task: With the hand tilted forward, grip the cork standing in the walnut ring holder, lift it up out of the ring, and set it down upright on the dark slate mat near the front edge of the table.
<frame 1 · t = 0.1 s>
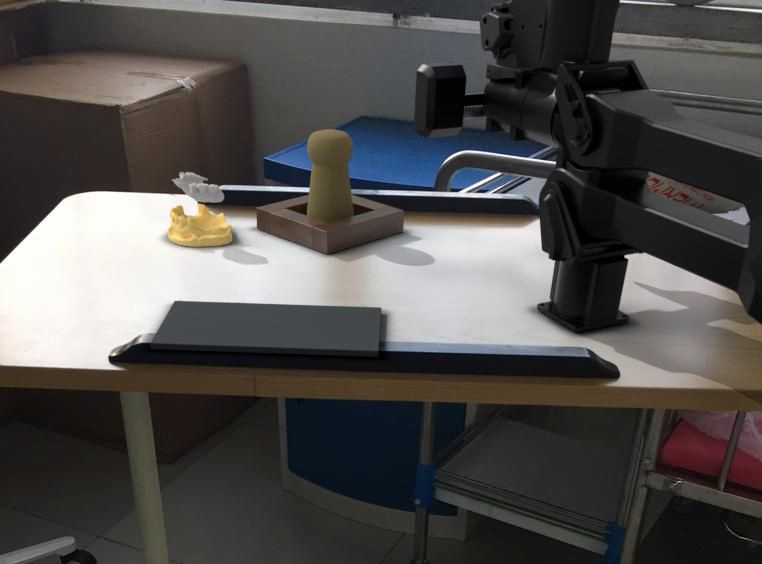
hand: (457, 82, 94), 17 cm above the table, tool horizontal, fingers open, 9 cm apart
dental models: (199, 238, 103), on the table
cork: (330, 232, 106), resting in ring holder
slate mat: (271, 330, 82), on the table
ring holder: (330, 230, 106), on the table
thermos bottle: (610, 129, 102), point 11 cm above the table
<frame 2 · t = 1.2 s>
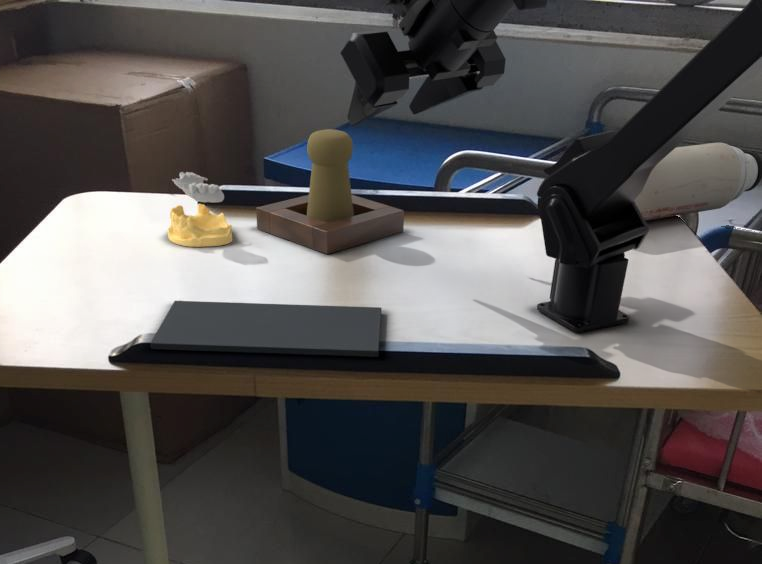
hand: (382, 115, 93), 14 cm above the table, tool tilted 45°, fingers open, 9 cm apart
thermos bottle: (577, 196, 105), point 4 cm above the table
everything else where it was.
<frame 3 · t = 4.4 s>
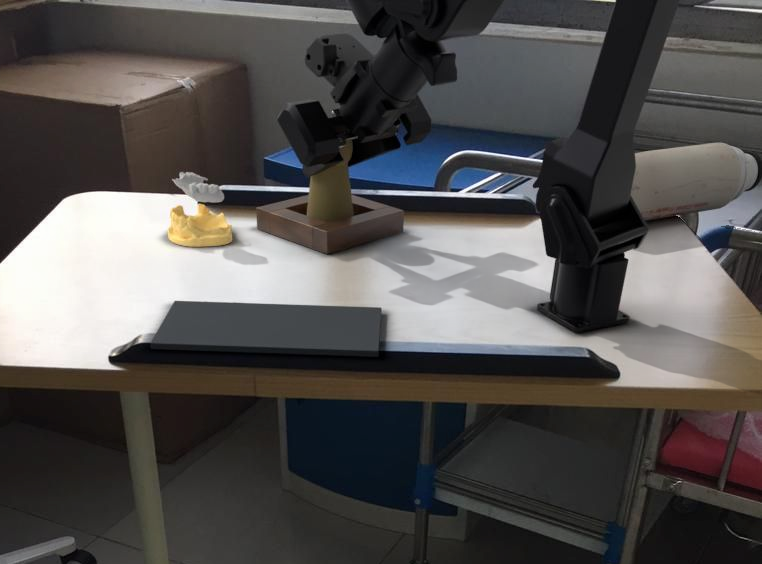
hand: (322, 170, 103), 7 cm above the table, tool tilted 45°, fingers closed on cork, 5 cm apart
cork: (330, 232, 106), resting in ring holder, touching gripper
everything else where it was.
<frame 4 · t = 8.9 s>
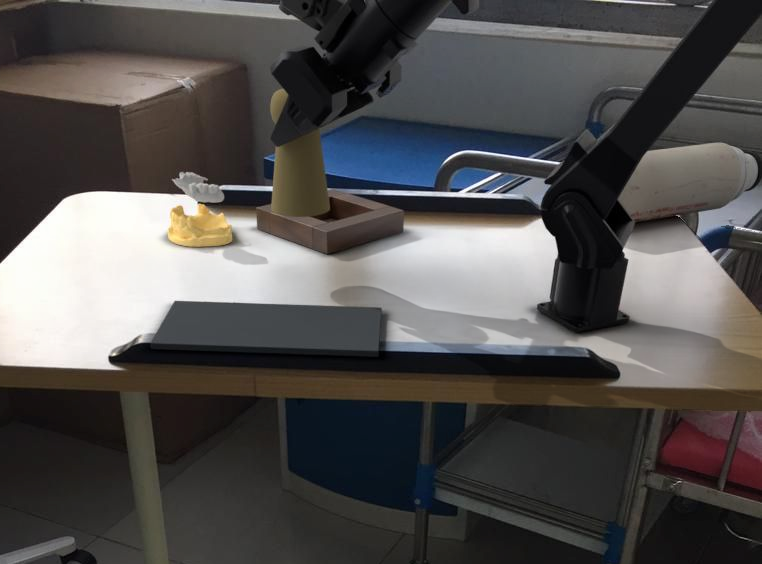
hand: (285, 137, 86), 13 cm above the table, tool tilted 45°, fingers closed on cork, 5 cm apart
cork: (300, 210, 90), point 7 cm above the table, touching gripper
everything else where it was.
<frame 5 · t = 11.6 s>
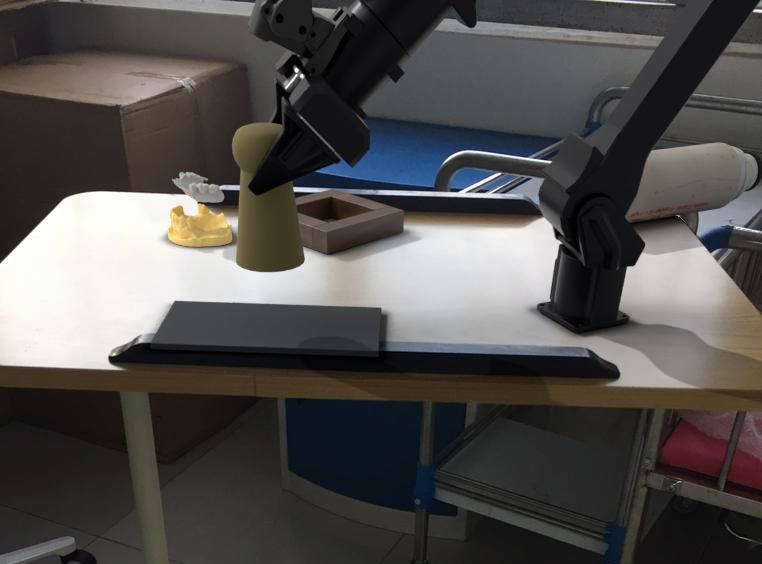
hand: (250, 182, 74), 13 cm above the table, tool tilted 45°, fingers closed on cork, 5 cm apart
cork: (270, 262, 78), point 6 cm above the table, touching gripper
everything else where it was.
when the fingers open (7 cm above the table, at t = 13.7 s): cork stays where it is, resting on slate mat.
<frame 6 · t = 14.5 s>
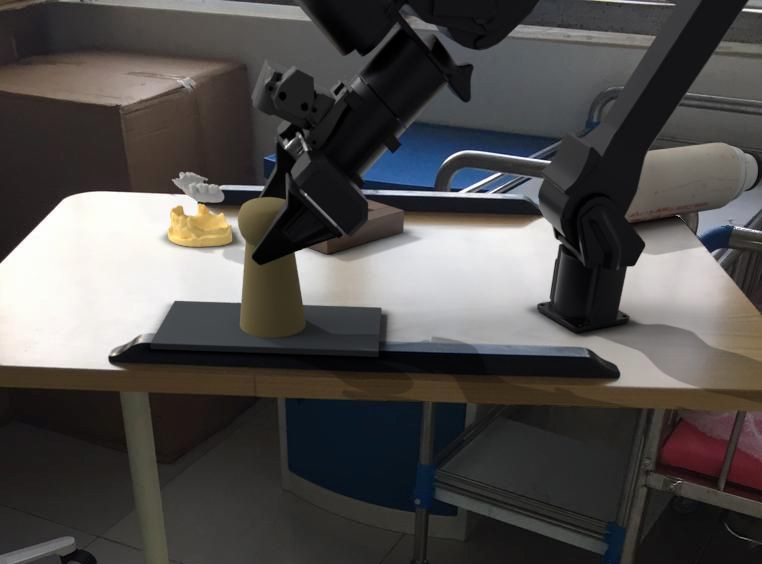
hand: (252, 243, 77), 8 cm above the table, tool tilted 45°, fingers open, 9 cm apart
cork: (273, 326, 81), resting on slate mat
everything else where it was.
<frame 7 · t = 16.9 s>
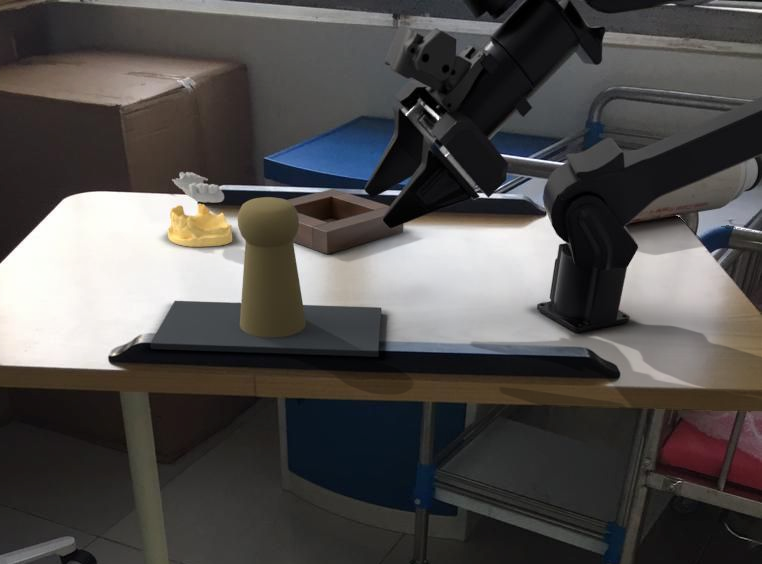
hand: (376, 208, 78), 10 cm above the table, tool tilted 45°, fingers open, 9 cm apart
nothing on the table moved.
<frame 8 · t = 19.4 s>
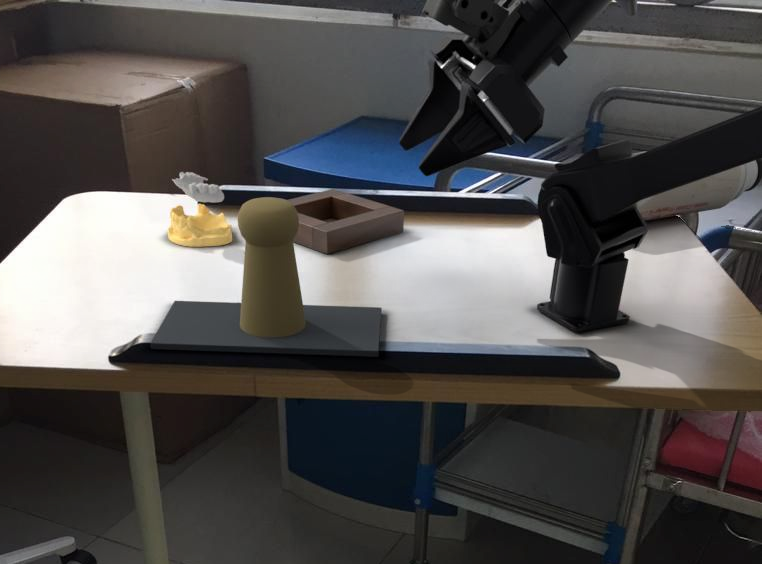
hand: (411, 158, 79), 14 cm above the table, tool tilted 45°, fingers open, 9 cm apart
nothing on the table moved.
at the end: cork inside the target area on the slate mat (0.1 cm from its centre), point 0.4 cm above the slate mat's base; cork tilted 0°; the gripper is holding nothing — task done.
